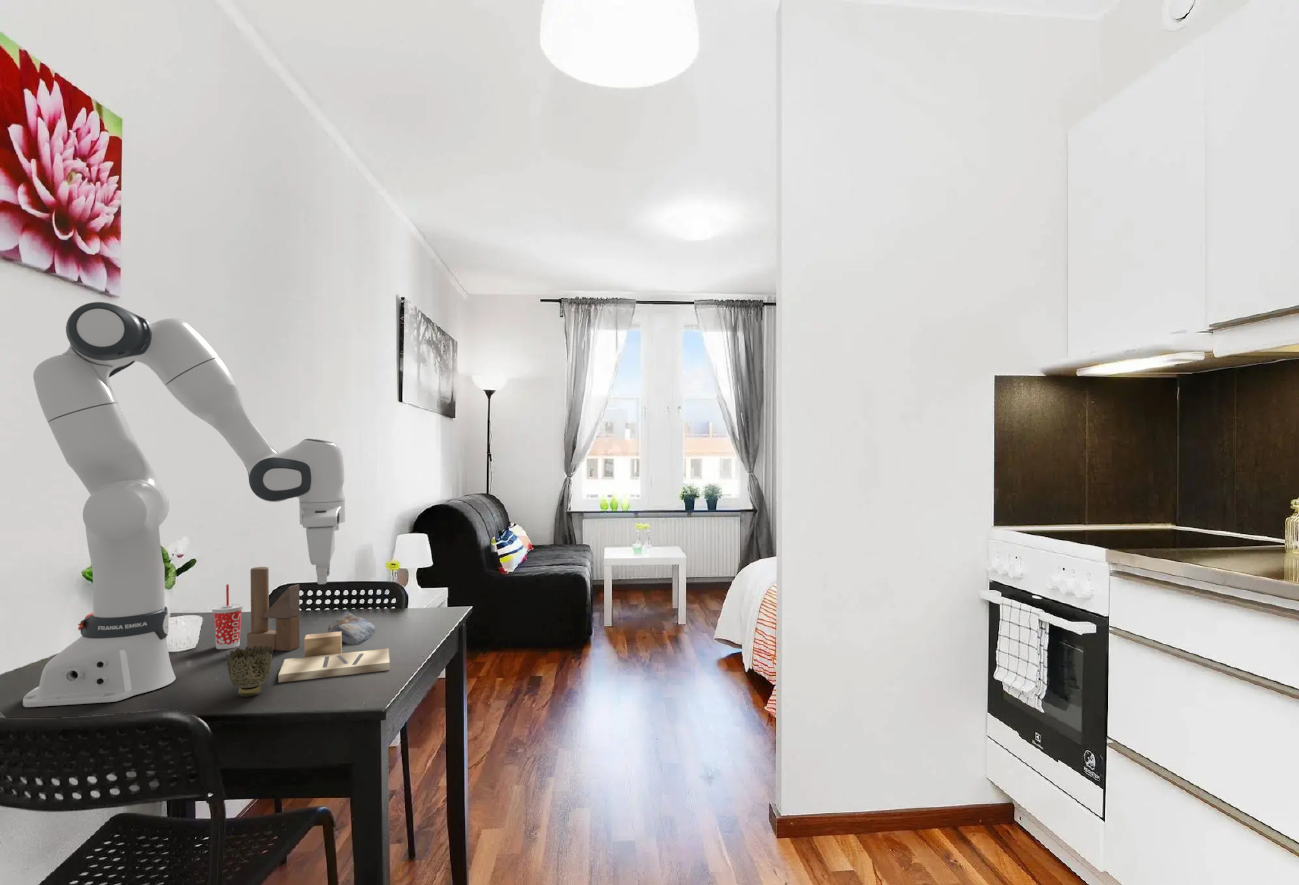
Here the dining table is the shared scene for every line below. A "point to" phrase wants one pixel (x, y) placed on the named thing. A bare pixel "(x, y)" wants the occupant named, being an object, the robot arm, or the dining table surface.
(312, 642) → the block
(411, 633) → the dining table surface
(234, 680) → the cup
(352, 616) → the stone
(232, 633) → the beverage cup
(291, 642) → the stacked wooden blocks
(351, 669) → the board
